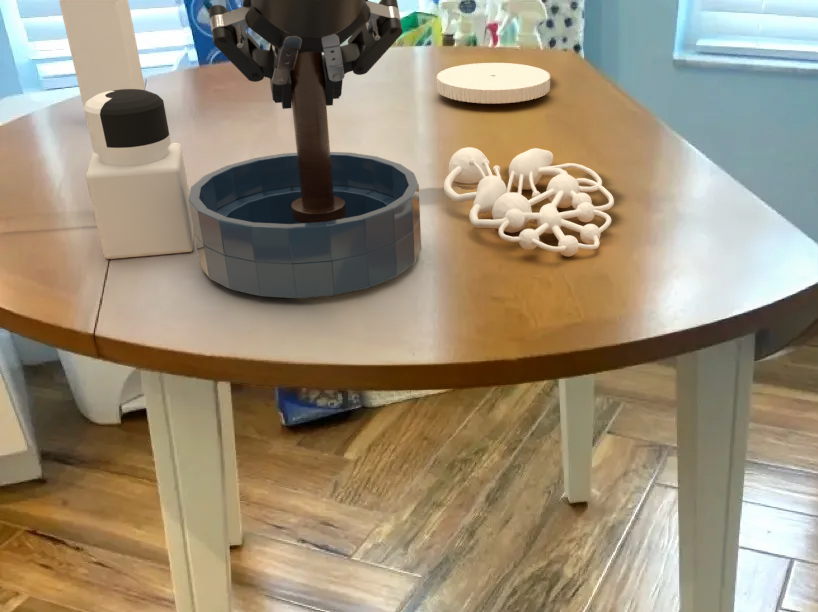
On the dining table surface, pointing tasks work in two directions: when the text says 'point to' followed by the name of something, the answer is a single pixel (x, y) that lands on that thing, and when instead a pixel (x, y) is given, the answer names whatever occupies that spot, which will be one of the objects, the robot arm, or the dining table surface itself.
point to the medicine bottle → (136, 176)
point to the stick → (313, 143)
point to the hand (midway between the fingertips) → (305, 96)
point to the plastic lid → (493, 83)
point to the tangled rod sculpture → (516, 209)
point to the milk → (102, 46)
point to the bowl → (305, 227)
